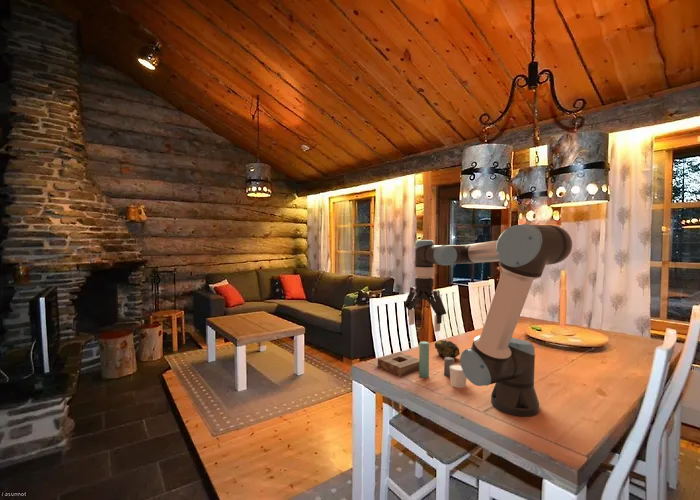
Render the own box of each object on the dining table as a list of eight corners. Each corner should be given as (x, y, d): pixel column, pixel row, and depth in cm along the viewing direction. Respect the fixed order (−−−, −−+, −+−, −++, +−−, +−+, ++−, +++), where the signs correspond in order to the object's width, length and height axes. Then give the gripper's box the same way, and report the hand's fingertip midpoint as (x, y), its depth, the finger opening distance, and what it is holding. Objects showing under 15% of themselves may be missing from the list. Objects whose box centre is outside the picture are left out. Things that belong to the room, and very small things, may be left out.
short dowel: (455, 375, 146) (456, 359, 146) (450, 377, 144) (450, 361, 143) (448, 372, 149) (448, 356, 149) (442, 374, 147) (442, 358, 146)
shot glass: (459, 390, 132) (459, 372, 132) (445, 383, 138) (445, 366, 138) (471, 385, 136) (471, 368, 136) (457, 379, 142) (457, 362, 141)
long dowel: (430, 376, 145) (431, 343, 145) (424, 378, 143) (424, 345, 142) (423, 373, 148) (423, 340, 148) (417, 375, 146) (417, 342, 145)
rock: (463, 340, 167) (454, 340, 162) (464, 360, 165) (455, 360, 160) (442, 340, 176) (432, 339, 171) (442, 358, 174) (433, 359, 169)
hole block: (422, 368, 154) (422, 360, 154) (400, 376, 145) (400, 367, 145) (399, 359, 165) (399, 352, 165) (377, 366, 156) (377, 358, 156)
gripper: (455, 279, 136) (454, 332, 137) (408, 273, 156) (407, 320, 157) (443, 280, 132) (443, 336, 133) (396, 275, 151) (396, 323, 152)
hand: (423, 327), depth 145 cm, fingers open, 13 cm apart
